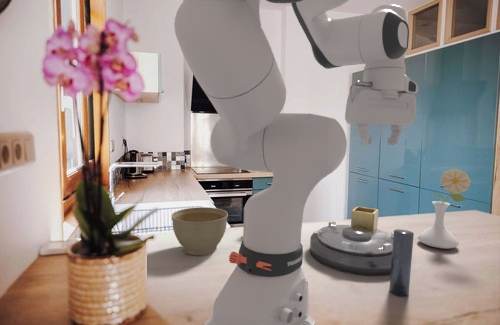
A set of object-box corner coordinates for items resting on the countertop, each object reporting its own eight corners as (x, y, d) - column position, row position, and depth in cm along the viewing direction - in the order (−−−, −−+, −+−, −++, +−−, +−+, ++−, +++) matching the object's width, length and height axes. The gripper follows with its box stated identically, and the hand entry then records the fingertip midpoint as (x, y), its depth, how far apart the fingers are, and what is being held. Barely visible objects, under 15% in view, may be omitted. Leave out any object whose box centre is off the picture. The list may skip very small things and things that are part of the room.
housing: (396, 285, 78) (397, 267, 77) (295, 259, 92) (295, 243, 91) (411, 251, 100) (412, 237, 99) (327, 234, 114) (328, 221, 113)
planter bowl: (215, 237, 108) (216, 204, 107) (236, 255, 94) (236, 218, 93) (166, 244, 101) (165, 209, 100) (179, 265, 87) (179, 224, 85)
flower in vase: (412, 245, 105) (419, 167, 102) (422, 236, 114) (428, 164, 111) (461, 256, 97) (469, 171, 94) (467, 246, 105) (475, 168, 102)
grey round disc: (390, 263, 80) (392, 233, 79) (305, 243, 92) (306, 217, 91) (404, 237, 99) (406, 213, 98) (332, 224, 111) (333, 202, 110)
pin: (407, 298, 72) (412, 236, 71) (387, 293, 74) (392, 232, 73) (409, 291, 76) (414, 231, 74) (391, 286, 78) (395, 228, 76)
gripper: (363, 77, 67) (359, 146, 69) (422, 86, 78) (418, 145, 79) (340, 81, 73) (336, 144, 74) (398, 88, 83) (395, 144, 85)
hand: (379, 145), depth 77 cm, fingers open, 8 cm apart
